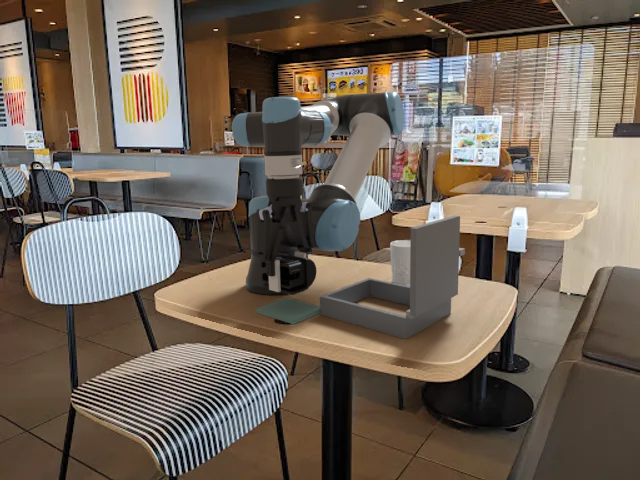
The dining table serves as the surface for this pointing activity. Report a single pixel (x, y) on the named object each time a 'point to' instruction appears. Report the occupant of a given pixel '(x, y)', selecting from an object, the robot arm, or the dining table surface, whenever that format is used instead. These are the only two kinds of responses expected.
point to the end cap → (292, 273)
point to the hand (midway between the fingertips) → (288, 285)
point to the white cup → (400, 261)
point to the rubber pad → (289, 310)
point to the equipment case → (421, 294)
